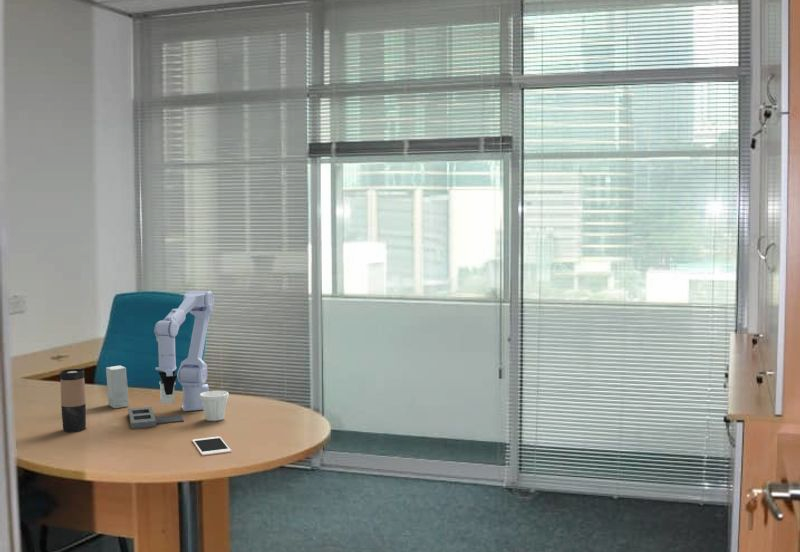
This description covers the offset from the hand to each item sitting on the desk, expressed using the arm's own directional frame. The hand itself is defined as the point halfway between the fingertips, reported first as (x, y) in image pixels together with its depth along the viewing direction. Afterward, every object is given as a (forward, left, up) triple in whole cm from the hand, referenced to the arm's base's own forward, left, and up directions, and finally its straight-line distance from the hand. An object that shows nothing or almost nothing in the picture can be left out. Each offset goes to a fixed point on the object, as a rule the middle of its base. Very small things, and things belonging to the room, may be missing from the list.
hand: (168, 392), depth 290 cm
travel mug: (+31, +1, -10) cm, 33 cm away
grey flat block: (+9, -3, -10) cm, 13 cm away
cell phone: (-9, +40, -10) cm, 42 cm away
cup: (-15, +6, -10) cm, 19 cm away
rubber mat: (0, 0, -10) cm, 10 cm away
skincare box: (+16, -30, -10) cm, 35 cm away
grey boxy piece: (0, 0, -3) cm, 3 cm away
